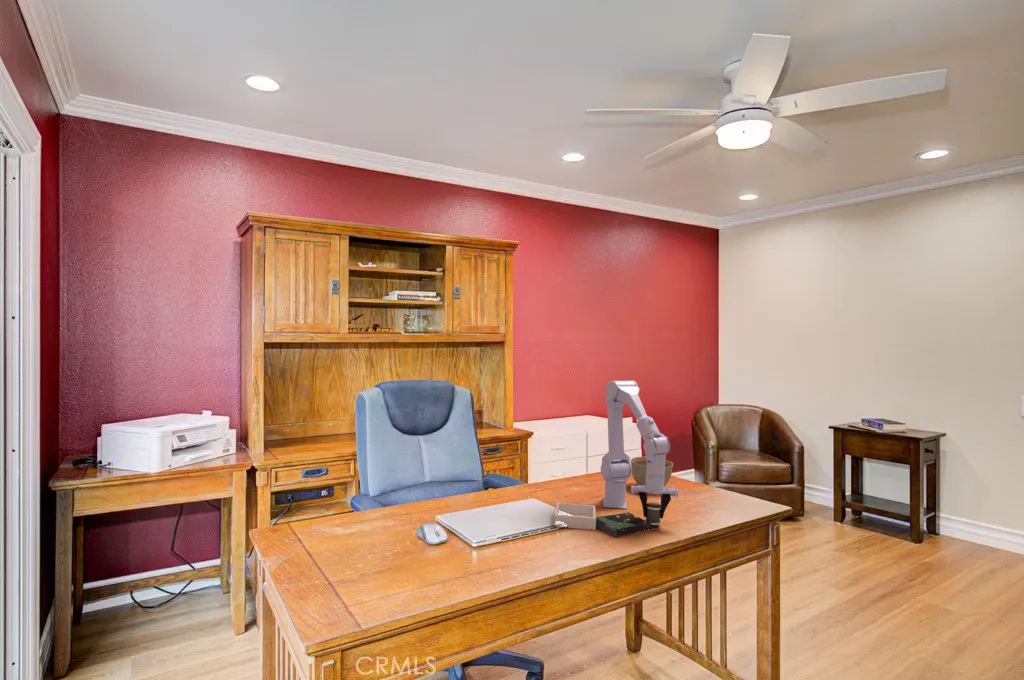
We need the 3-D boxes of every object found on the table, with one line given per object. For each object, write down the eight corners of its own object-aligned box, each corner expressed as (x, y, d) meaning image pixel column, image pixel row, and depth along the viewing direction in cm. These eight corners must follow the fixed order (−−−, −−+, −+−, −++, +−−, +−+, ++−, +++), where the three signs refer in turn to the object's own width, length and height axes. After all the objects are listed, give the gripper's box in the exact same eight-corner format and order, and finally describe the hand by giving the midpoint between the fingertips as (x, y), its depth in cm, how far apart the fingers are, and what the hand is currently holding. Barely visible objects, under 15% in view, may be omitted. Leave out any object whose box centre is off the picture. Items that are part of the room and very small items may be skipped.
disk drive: (627, 520, 184) (593, 525, 176) (628, 512, 184) (594, 516, 176) (651, 532, 175) (616, 537, 167) (652, 523, 175) (617, 528, 167)
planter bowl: (621, 488, 218) (623, 461, 218) (641, 481, 230) (642, 454, 230) (660, 498, 208) (661, 469, 207) (678, 489, 220) (680, 462, 220)
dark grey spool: (644, 520, 182) (645, 501, 181) (659, 521, 181) (660, 503, 181) (646, 525, 177) (646, 506, 177) (661, 526, 176) (662, 507, 176)
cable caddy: (556, 512, 187) (556, 502, 187) (594, 516, 185) (595, 505, 185) (554, 526, 174) (555, 515, 174) (595, 530, 173) (596, 518, 173)
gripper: (633, 475, 175) (630, 518, 176) (681, 479, 173) (678, 523, 174) (631, 470, 182) (629, 511, 183) (677, 473, 180) (674, 515, 181)
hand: (653, 516), depth 179 cm, fingers closed on dark grey spool, 4 cm apart
